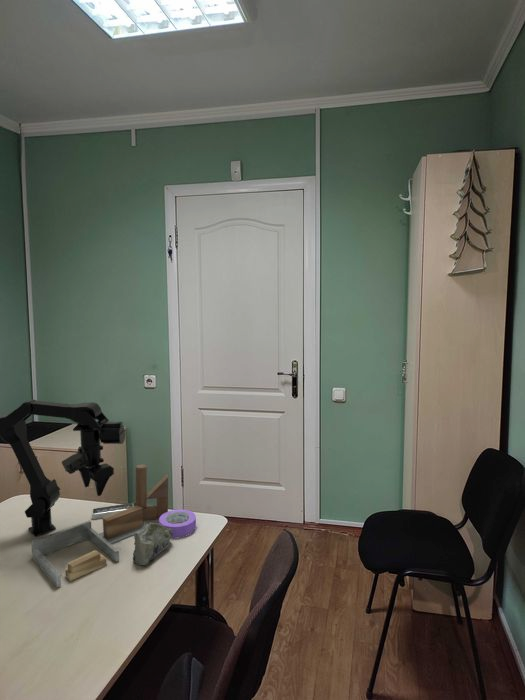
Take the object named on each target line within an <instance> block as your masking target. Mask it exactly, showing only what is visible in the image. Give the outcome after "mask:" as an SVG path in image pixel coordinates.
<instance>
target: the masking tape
mask: <svg viewBox="0 0 525 700" xmlns="http://www.w3.org/2000/svg"><path fill="white" fill-rule="evenodd" d="M158 523H160V524H162V525H164V526H165V527H166V528H167V529H173V532H172V536H171V538H172V539H175V538H176V539H178V538H177V537H179V538H184V537H186V535H187V536H189V535H190V533H191V532H192V533H194V532H195V531H196V529H195V528H197V515H196V513H194V512H193V511H191V510H188V509H173V510H168V512H166V513H164V514H162V515H161V516H160V518H159V519H158ZM193 531H194V532H193ZM192 533H191V534H192ZM188 534H189V535H188ZM183 536H184V537H183ZM171 538H170V539H171Z"/></svg>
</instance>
